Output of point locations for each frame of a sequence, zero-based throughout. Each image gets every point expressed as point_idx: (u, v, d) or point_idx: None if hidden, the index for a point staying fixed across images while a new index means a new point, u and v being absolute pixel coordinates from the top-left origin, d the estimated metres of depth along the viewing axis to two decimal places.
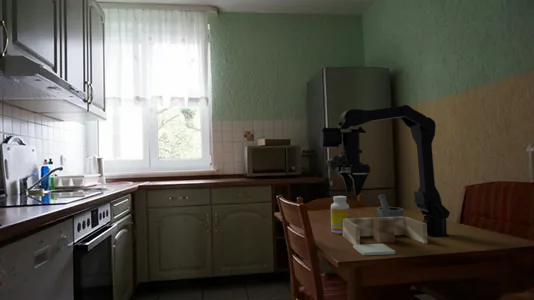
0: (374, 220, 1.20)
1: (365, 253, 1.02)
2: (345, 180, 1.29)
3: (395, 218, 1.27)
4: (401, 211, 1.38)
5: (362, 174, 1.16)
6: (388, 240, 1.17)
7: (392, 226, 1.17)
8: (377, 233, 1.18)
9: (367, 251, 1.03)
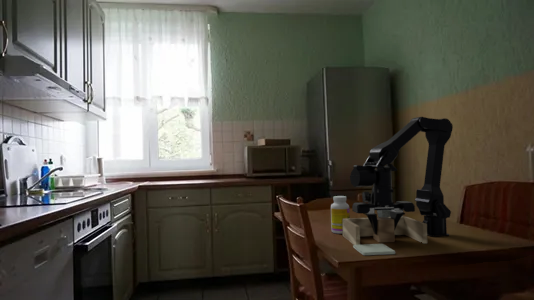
0: None
1: (365, 253, 1.02)
2: None
3: None
4: None
5: (365, 213, 1.18)
6: (388, 240, 1.17)
7: (392, 226, 1.17)
8: (377, 233, 1.18)
9: (367, 251, 1.03)
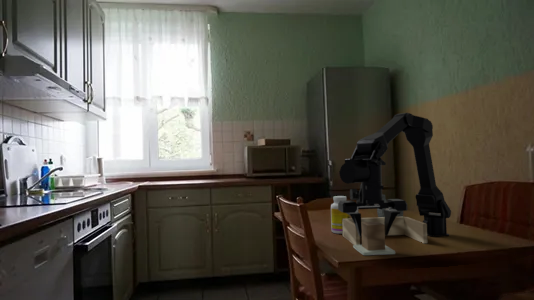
0: (362, 225, 1.08)
1: (365, 253, 1.02)
2: (384, 219, 1.08)
3: (395, 218, 1.27)
4: (401, 211, 1.38)
5: (348, 213, 1.05)
6: (378, 247, 1.04)
7: (382, 232, 1.04)
8: (365, 240, 1.05)
9: (367, 251, 1.03)
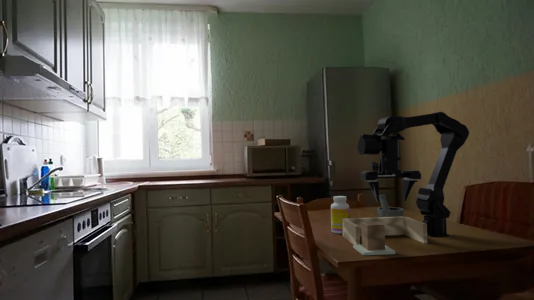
0: (362, 225, 1.08)
1: (365, 253, 1.02)
2: (403, 187, 1.24)
3: (395, 218, 1.27)
4: (401, 211, 1.38)
5: (367, 181, 1.21)
6: (378, 247, 1.04)
7: (382, 232, 1.04)
8: (365, 240, 1.05)
9: (367, 251, 1.03)
